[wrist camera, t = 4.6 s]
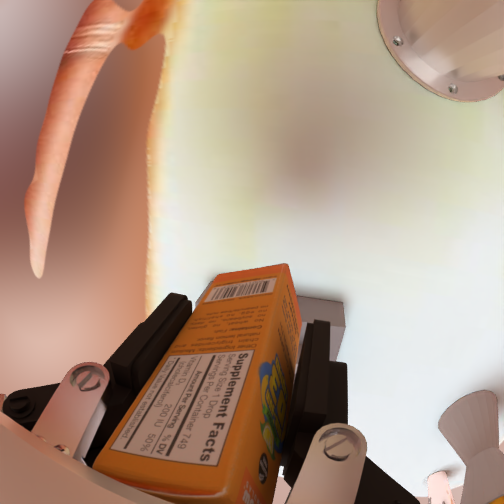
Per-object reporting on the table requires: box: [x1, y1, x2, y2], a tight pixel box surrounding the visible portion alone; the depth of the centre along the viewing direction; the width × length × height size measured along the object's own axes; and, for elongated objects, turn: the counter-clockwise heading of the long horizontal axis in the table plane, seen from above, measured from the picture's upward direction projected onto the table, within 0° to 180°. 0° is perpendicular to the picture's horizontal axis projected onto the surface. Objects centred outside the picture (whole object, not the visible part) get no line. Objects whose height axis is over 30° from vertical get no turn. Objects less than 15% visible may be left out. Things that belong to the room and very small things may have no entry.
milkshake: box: [427, 471, 455, 504], centre depth 30 cm, size 4×5×10 cm
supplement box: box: [92, 263, 302, 504], centre depth 9 cm, size 3×4×10 cm
